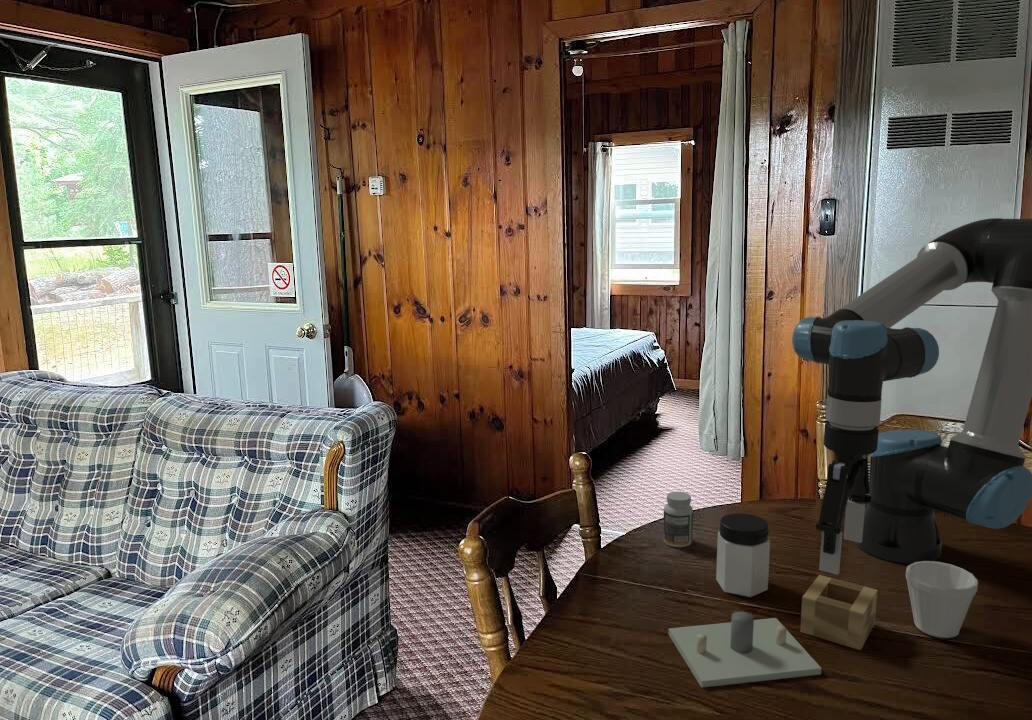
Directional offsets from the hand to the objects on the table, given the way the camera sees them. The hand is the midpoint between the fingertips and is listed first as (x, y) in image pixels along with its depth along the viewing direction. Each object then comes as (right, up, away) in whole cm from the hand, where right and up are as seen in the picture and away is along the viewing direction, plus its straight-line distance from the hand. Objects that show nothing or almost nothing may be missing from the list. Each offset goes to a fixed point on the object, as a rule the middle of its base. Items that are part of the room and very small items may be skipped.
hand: (841, 555), depth 122 cm
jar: (-11, -10, +17) cm, 22 cm away
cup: (+16, -12, +2) cm, 20 cm away
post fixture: (-17, -14, -4) cm, 22 cm away
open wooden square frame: (+1, -12, +3) cm, 13 cm away
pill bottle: (-18, -6, +35) cm, 40 cm away
